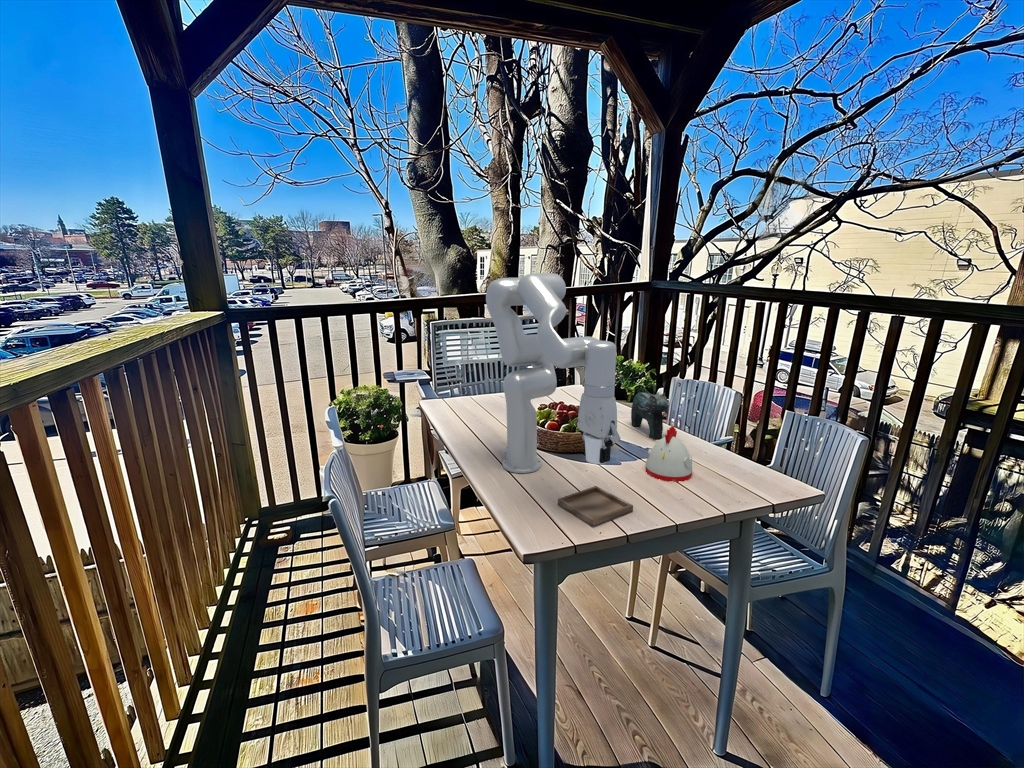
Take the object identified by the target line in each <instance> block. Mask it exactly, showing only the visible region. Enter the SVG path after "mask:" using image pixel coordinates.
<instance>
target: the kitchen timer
mask: <svg viewBox="0 0 1024 768" xmlns="http://www.w3.org/2000/svg"><path fill="white" fill-rule="evenodd" d="M676 429H677V428H675V426H674V425H673V426H672V425H671V426H670V427H669V428H668V429H667V430H666V434H665V435H664V436H663V437H662V439H660V440H657V441H656V442H655V444H654V445H653V446H652V448H648V451H647V455H646V462H645V469H646V470H645V473H646V472H647V473H646V474H647V475H648V476H650V477H651V478H653V477H654V478H653V479H656V480H659V479H660V480H659V481H663V480H664V481H663V482H669V481H673V482H672V483H679V481H682V482H686V481H689V480H690V479H692V477H693V458H692V457H693V456H692V455H693V454H692V453H689V450H688V448H687V446H686V445H685V444H684V443H683V442H682V441H681V440H680V439H679V438H678V437H677V434H678V431H677V430H676ZM691 476H692V477H691ZM689 478H690V479H689ZM688 479H689V480H688ZM685 480H686V481H685ZM675 481H676V482H675Z"/></svg>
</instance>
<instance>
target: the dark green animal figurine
mask: <svg viewBox="0 0 1024 768" xmlns="http://www.w3.org/2000/svg"><path fill="white" fill-rule="evenodd" d="M651 386H652V387H653V393H650V392H649V391H648V390H647V389H646V388H640V389H639V390H638V392H637V393H636V394H635V396H634V397H633V400H632V404H631V405H632V406H631V409H630V411H631V412H630V419H631V422H630V423H631V424H630V425H631V427H633V428H635V429H636V428H637V429H638V428H639V429H640V428H641V426H642V423H643V420H645V421H646V422H647V425H648V429H649V435H648V437H649V439H651V440H652V441H659V440H660V439H662V438H663V431H664V426H663V425H664V421H663V420H664V418H663V413H664V412H666V411H668V408H669V401H668V398H667V397H666V395H665V392H663V393H661V394H660V392H659V391H658V392H656V393H655V385H654V383H650V384H649V387H651ZM642 390H643V391H645V392H641V391H642Z"/></svg>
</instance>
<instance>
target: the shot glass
mask: <svg viewBox="0 0 1024 768" xmlns="http://www.w3.org/2000/svg"><path fill="white" fill-rule="evenodd" d="M584 438H585V452H586V456H585V460H586V462H587V463H589V464H594V465H603V464H607V462H605V463H600V462H599V460H600V448H602V439H601V438H598V437H595V436H593V435H590V434H588V433H585V434H584ZM605 440H606V442H607V441H608V440H609V438H605Z"/></svg>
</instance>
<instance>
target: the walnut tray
mask: <svg viewBox="0 0 1024 768" xmlns="http://www.w3.org/2000/svg"><path fill="white" fill-rule="evenodd" d="M557 506H558V507H560V508H562V509H563V510H565V511H566V512H568V513H570V514H571V515H573V516H575V517H576V518H578V519H580V520H581V521H582V522H584V523H585V524H587V525H589V526H590V527H592V528H596V527H598V526H601V525H603V524H606V523H608V522H610V521H614V520H615V519H618V518H621V517H623V516H626V515H629V514H631V513H633V511H634V505H633V504H631V503H629V502H627V501H625V500H624V499H622V498H620V497H618V496H616V495H614V494H612V493H610V492H609V491H606V490H604V489H603V488H600V487H599V486H598V485H594V486H592V487H589V488H586V489H583V490H580V491H577V492H574V493H570V494H569V495H565V496H562V497H559V498H557Z"/></svg>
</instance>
